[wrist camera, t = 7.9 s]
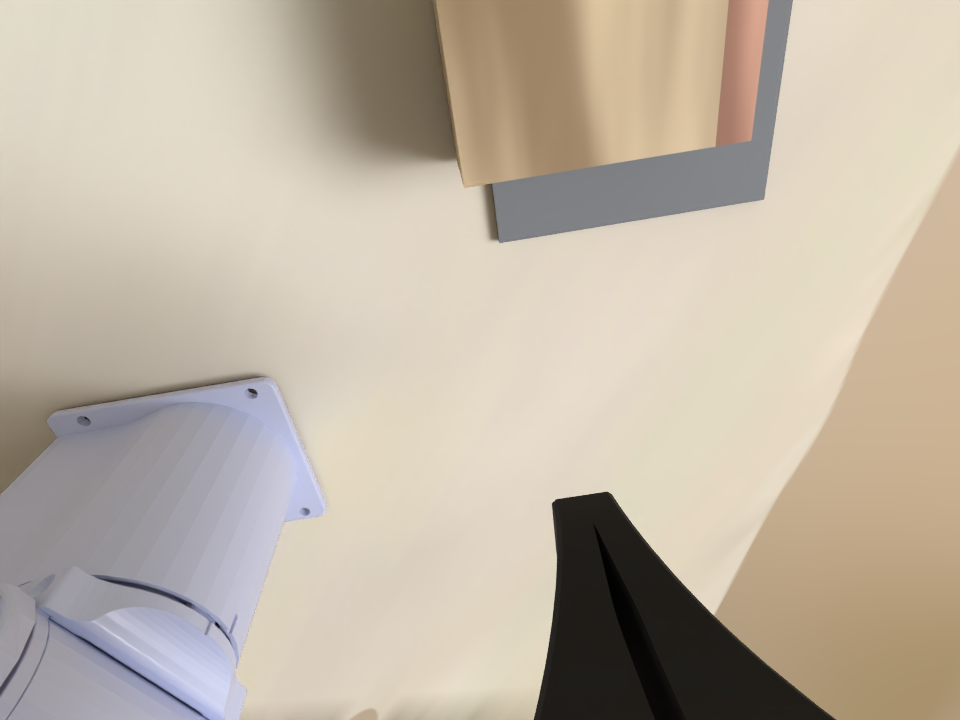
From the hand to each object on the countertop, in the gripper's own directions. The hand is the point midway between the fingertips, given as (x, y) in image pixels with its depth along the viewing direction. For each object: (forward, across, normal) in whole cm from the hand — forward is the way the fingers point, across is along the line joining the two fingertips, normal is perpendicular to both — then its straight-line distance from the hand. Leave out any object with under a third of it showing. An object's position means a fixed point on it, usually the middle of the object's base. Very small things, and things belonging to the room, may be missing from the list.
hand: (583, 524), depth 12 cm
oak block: (+8, +2, -10) cm, 13 cm away
